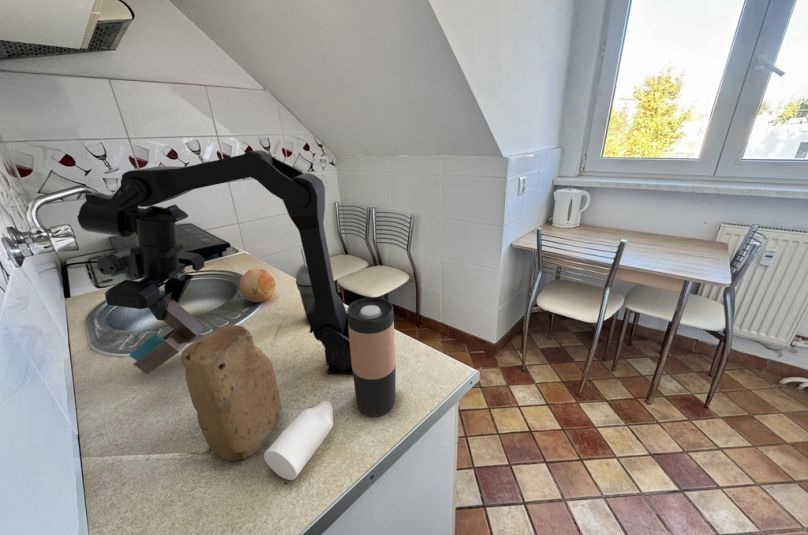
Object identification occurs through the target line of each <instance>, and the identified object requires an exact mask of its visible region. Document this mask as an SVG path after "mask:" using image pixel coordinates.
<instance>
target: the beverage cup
mask: <svg viewBox="0 0 808 535" xmlns="http://www.w3.org/2000/svg"><path fill="white" fill-rule="evenodd" d="M300 252H301V256H302V260H303V264H304V265H303V266H302V267H300V268H299V269H298V271H297V272H296V276H295V284H296V288H297V289H298V292H299V295H300V299H301V302H302V306H303V311H304V315H305V318H306V321H307V322H308V319H307V315H306V314H307V312H308V310H309V308H310V306H311V303H312V301H313V300H314V296H313V292H312V287H311V283H310V278H309V273H308V269H307V264H306V260H305V255H304V251H303V248H300Z"/></svg>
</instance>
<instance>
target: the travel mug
mask: <svg viewBox="0 0 808 535" xmlns="http://www.w3.org/2000/svg"><path fill="white" fill-rule="evenodd" d="M346 312H347V318H348V329H349V341H350V352H351V363H352V372H353V375H352V379H353V386H354V392H355V400H356V406H357V408H358V410H359V411H360V412H361V414H363V415H365V416H368V417H371V418H372V417H373V418H374V417H376V418H378V417H381V416H385V415H387V414H388V413H390V412H391V411H392V409H393V408H394V406H395V404H396V378H397V377H396V375H397V374H396V370H397V368H396V361H397V360H396V342H395V340H396V339H395V322H394V318H395V317H394V306H393V304H392V303H391V302H390V301H389V300H387V299H386V298H383V297H377V296H370V297H369V296H368V297H363V298H359V299H356V300H354V301H352V302H351V303H350V304H349V305H348V307H347V308H346Z"/></svg>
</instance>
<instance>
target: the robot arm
mask: <svg viewBox="0 0 808 535" xmlns="http://www.w3.org/2000/svg"><path fill="white" fill-rule="evenodd" d="M249 178H252V179H254V180H255V181H257V182H258V183H259V184H260V185H262V186H263V188H264V189H266V190H267V191H268V192H269V193H270V194H272V195H274V196H276V197H277V198H279V199H280V200H282V202H283V205H284V207H285V209H286V211H287V214H288V216H289V218H290V219H291V221H292V223H293V224H294V226H295V227H296V229H297V230H298V232H299V237H300V242H301V246H302V249H303V252H304V256H305V260H306V264H307V269H308V273H309V278H310V283H311V287H312V292H313V296H314V300H313V301H312V303H311V306H310V308H309V310H308V312H307V314H305V316H306V315H307V317H306V320H307V319H308V321H307V322H308V324H309V334H312V333H313V336H314V338H315V340H316V341H319V342H321V344H322V346H323V348H324V356H325V363H326V366H327V369H326V374H327V375H347V376H348V375H349V376H353V372H352V363H351V352H350V341H349V329H348V318H347V308H346V307H345V304H344V302H343V300H342V298H341V297H340V295H339V294H338V293H337V291H336V284H335V280H334V274H333V268H332V263H331V259H330V253H329V248H328V243H327V242H328V241H327V237H326V231H325V226H324V222H325V221H324V220H325V210H326V187H325V185H324V181H323V180H322V179H321V178H319V177H318V176H317V175H316V174H313V173H311V172H310V173H309V172H303V171H302V170H301V171H300V170H299V169H297V168H296V167H294V166H292V165H290V164H288V163H286V162H284V161H282V160H280V159H277V158H276V157H275V156H272V155H271V154H269V152H267V151H265V150H263V149H257V150H256V149H255V150H249V151H246V152H244V153H243V154H238V155H235V156H230V157H225V158H221V159H216V160H211V161H207V162H202V163H197V164H192V165H188V166H177V165H176V166H175V165H174V166H172V165H171V166H153V167H146V168H145V167H144V168H139V169H132V170H127V171H125V172H123V173H122V174H121V179H120V185H119V187H118V189H117V190H116V191H115V193H114V194H113V195H108V194H106V193H102V192H91V193H86V194H84V195H85V201H84V202H83V204H82V205H81V206H80V208H79V211H78V215H77V221H78V224H79V226H80V228H82V229H83V230H84V231H86V232H90V233H94V234H95V233H96V234H101V235H102V234H103V235H109V236H110V235H111V236H115V237H123V238H128V237H131V236H132V235H134V234H135V239H136V245H135V246H132V247H131V248H130V249H127V250H122V251H119V252H116V253H109V254H104V255H100V256H98V257H96V268H97V269H98V271H99V272H100V274H102V275H104V276H109V275H110V276H111V277H116V276H118V275H121V274H122V275H123V274H127V273H130V276H131V277H132V276H133V277H140V276H141V277H143V278H142V279H140V280H139V281H138V280H130V279H124V280H122V281H121V282H119V283H117V284H115V285H113V286H112V287H110V288H108V289H107V290H106V291H105V292H104V297H105V302H106V305H107V306H111V307H112V306H113V307H121V308H129V309H137V310H144V309H149V311H150V313H152V315H153V317H154V318H155V319H156V320H157V321H163V320H164V318H165V315H166V312H167V309H168V305H169V301H170V298H172V299H173V300H175V301H176V302H177V303H178V304H180V302H181V299H182V297H183V295H184V293H185V291H186V290H187V288H188V286H189V284H190V282H191V281H192V279H193V278H194V275H193V274H189V273H186V267H187V266H191V268H192V270H193V271H194V272H199V271H200V270H202V269H203V268H204V267H205V258H204V257H203V256H202V255H201V254H199V253H194V252H189V251H183V250H184V244H183V243H178V237H177V224H176V223H178V222H180V221H182V220H186V219H187V218H189V214H188V213H187V212H185V211H184V210H182V209H181V208H180V207H179V206H178V205H177V204H172V205H169V206H167V207H164V206H159V205H158V206H157V204H161V203H164V202H167V201H172V200H174V199H176V198H178V197H181V196H183V195H186V194H187V193H189V192H192V191H193V190H196V189H201V188H205V187H206V188H207V187H211V186H216V185H220V184H221V185H222V184H226V183H229V182H235V181H239V180H243V179H249ZM163 322H164V321H163Z"/></svg>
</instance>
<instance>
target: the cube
mask: <svg viewBox="0 0 808 535" xmlns="http://www.w3.org/2000/svg"><path fill="white" fill-rule="evenodd" d="M164 341H165V339H163V337H160V336H159V335H158V334H156V333H154V334H152V335H151V336H150V337H149V338H148V339H147V340H145V341H144V342H142V344H140V345H139V346H138V347H137V348H136V349H135V350H134V351H132V352H131V353H130V354H129V357H130V358H132V359H133V360H134V361H135V362H136V361H137V360H139V359H140V358H142V357H143V356H144V355H146V354H147V353H149V352H150V351H151V350H153V349H154V348H156V347H157V346H158V345H160V344H161V343H163V342H164Z"/></svg>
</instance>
